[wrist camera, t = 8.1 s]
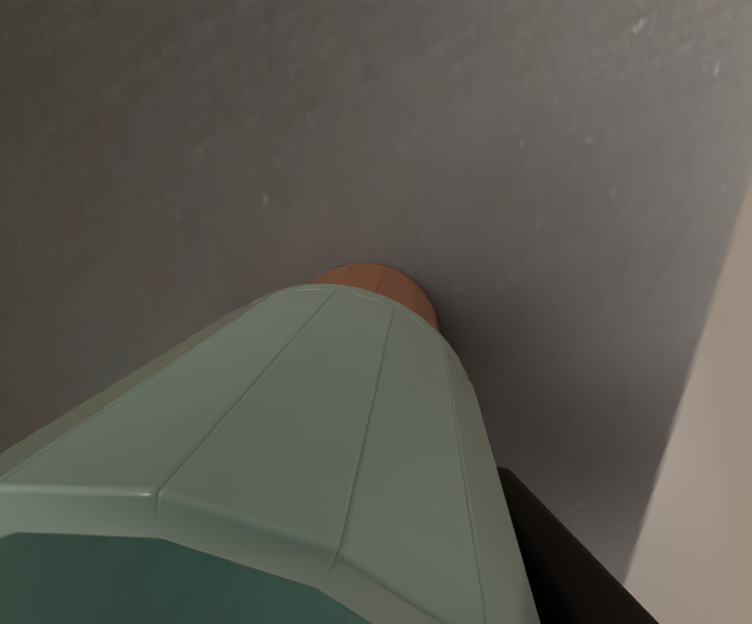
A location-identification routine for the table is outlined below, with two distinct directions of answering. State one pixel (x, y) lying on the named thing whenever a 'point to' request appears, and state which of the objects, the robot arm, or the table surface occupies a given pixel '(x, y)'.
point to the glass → (269, 482)
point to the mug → (383, 286)
